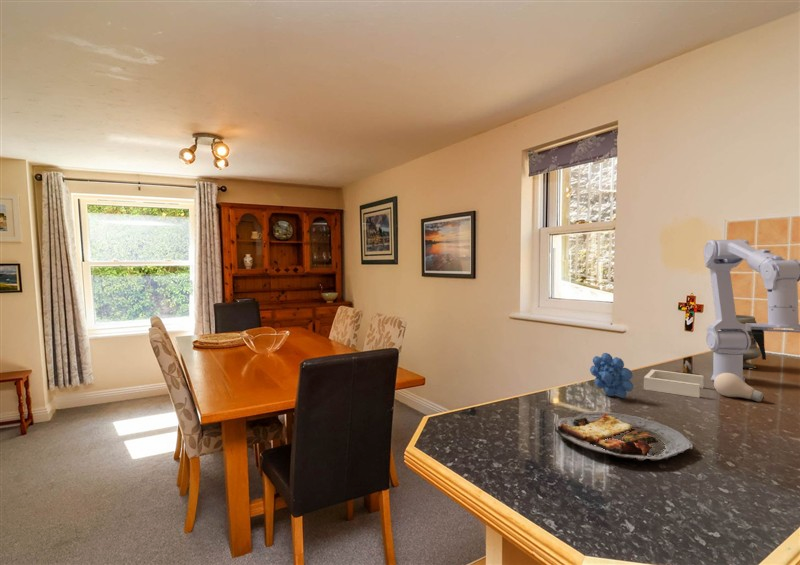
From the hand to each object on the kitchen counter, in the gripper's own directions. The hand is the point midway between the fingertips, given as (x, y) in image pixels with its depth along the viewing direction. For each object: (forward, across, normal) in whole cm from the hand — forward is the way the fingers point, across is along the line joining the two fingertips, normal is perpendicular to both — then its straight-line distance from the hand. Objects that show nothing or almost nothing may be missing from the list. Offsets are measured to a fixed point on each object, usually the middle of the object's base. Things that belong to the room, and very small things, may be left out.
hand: (784, 360), depth 104 cm
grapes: (+12, -36, -19) cm, 42 cm away
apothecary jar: (+9, -11, +46) cm, 49 cm away
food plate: (+14, -27, -48) cm, 57 cm away
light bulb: (+12, -9, +2) cm, 15 cm away
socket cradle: (+11, -23, +2) cm, 26 cm away
